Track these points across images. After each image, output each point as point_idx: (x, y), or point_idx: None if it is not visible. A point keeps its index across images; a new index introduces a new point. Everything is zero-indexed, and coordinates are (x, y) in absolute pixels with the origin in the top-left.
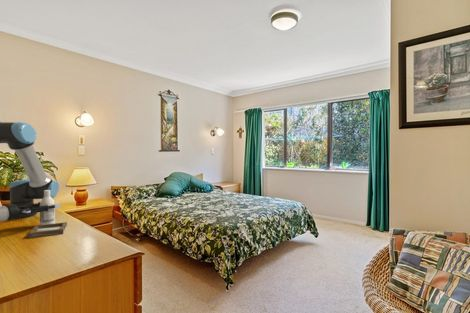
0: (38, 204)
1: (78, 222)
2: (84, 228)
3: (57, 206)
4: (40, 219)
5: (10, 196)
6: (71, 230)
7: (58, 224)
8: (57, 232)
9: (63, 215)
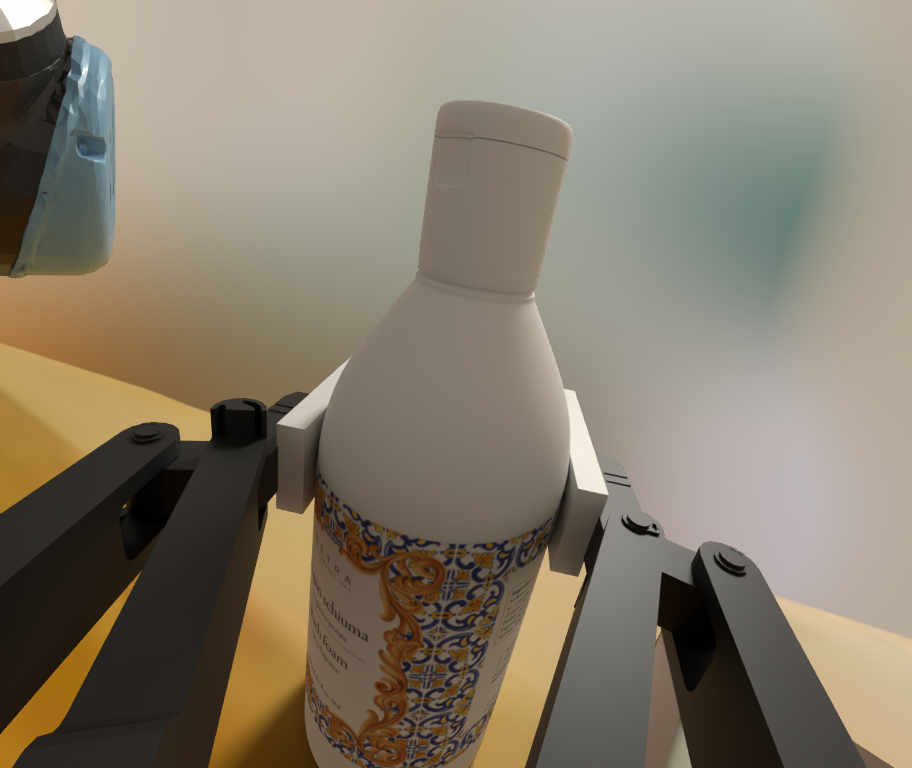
0: (260, 464)
1: None
2: (865, 655)
3: None
4: (388, 743)
5: None
6: (900, 765)
7: (677, 715)
8: None
9: None
